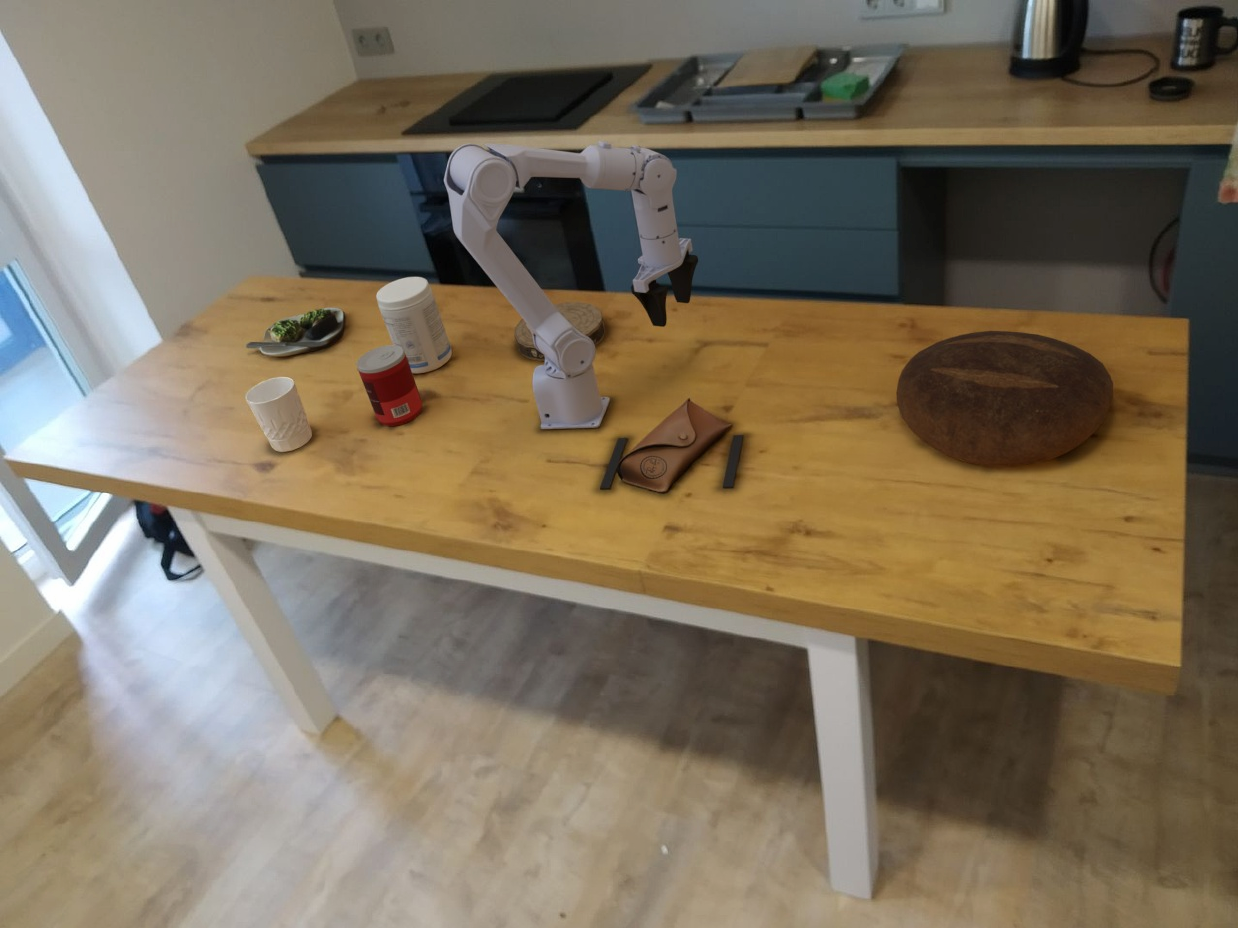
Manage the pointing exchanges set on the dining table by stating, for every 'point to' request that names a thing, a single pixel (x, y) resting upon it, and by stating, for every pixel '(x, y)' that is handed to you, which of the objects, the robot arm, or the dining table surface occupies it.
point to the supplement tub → (415, 323)
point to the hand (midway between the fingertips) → (671, 313)
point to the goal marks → (729, 473)
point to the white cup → (280, 413)
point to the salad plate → (302, 333)
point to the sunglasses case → (671, 448)
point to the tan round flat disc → (576, 314)
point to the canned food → (390, 385)
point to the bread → (1004, 397)
